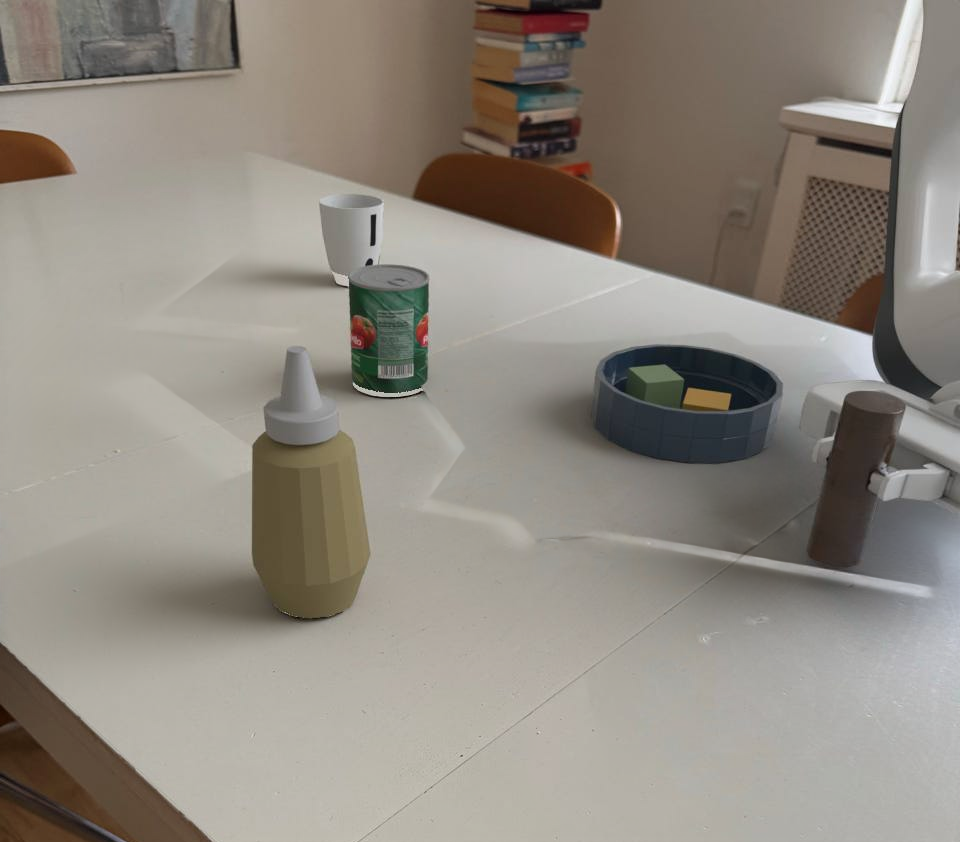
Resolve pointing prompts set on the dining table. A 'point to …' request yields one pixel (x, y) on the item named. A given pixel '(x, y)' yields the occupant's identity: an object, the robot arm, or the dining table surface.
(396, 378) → the canned tomato
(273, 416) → the squeeze bottle
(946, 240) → the robot arm
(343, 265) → the cup
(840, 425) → the brown wooden dowel
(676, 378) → the block sage
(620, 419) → the bowl
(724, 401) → the block ochre
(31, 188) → the dining table surface
